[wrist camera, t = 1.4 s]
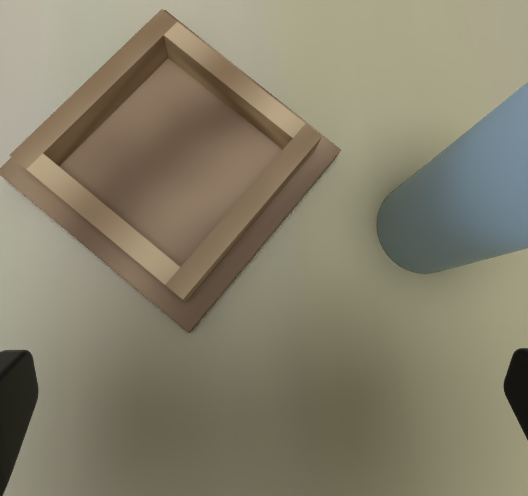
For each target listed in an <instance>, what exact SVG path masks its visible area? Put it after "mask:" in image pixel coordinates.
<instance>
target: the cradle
mask: <svg viewBox="0 0 528 496" xmlns="http://www.w3.org/2000/svg"><path fill="white" fill-rule="evenodd" d="M340 151H341V149H339V148H338V147H337V146H336V145H334V144H333V143H332V142H331V141H329V140H328V139H327V138H326V137H324V136H323V135H322V134H321V133H319V132H318V131H317V130H316V129H314V128H313V127H312V126H311V125H309V124H308V123H307V122H306V121H304V120H303V119H302V118H300V117H299V116H298V115H297V114H295V113H294V112H293V111H292V110H290V109H289V108H288V107H287V106H285V105H284V104H283V103H282V102H280V101H279V100H278V99H277V98H275V97H274V96H273V95H272V94H270V93H269V92H268V91H267V90H265V89H264V88H263V87H261V86H260V85H259V84H258V83H256V82H255V81H254V80H253V79H251V78H250V77H249V76H248V75H246V74H245V73H244V72H243V71H241V70H240V69H239V68H238V67H236V66H235V65H234V64H233V63H231V62H230V61H229V60H228V59H226V58H225V57H224V56H222V55H221V54H220V53H219V52H217V51H216V50H215V49H214V48H212V47H211V46H210V45H209V44H207V43H206V42H205V41H204V40H202V39H201V38H200V37H199V36H197V35H196V34H195V33H194V32H192V31H191V30H190V29H189V28H187V27H186V26H185V25H183V24H182V23H181V22H180V21H178V20H177V19H176V18H175V17H173V16H172V15H171V14H170V13H168V12H167V11H166V10H163V9H161V10H160V11H159V12H158V13H157V14H156V15H155V16H154V17H153V18H152V19H151V20H150V21H149V22H148V23H147V24H146V25H145V26H144V27H143V28H142V29H141V30H139V31H138V32H137V33H136V34H135V35H134V36H133V37H132V38H131V39H130V40H129V41H128V42H127V43H126V44H125V45H124V46H123V47H122V48H121V49H120V50H119V51H118V52H117V53H115V54H114V55H113V56H112V57H111V58H110V59H109V60H108V61H107V62H106V63H105V64H104V65H103V66H102V67H101V68H100V69H99V70H98V71H97V72H96V73H95V74H94V75H93V76H92V77H90V78H89V79H88V80H87V81H86V82H85V83H84V84H83V85H82V86H81V87H80V88H79V89H78V90H77V91H76V92H75V93H74V94H73V95H72V96H71V97H70V98H69V99H68V100H67V101H65V102H64V103H63V104H62V105H61V106H60V107H59V108H58V109H57V110H56V111H55V112H54V113H53V114H52V115H51V116H50V117H49V118H48V119H47V120H46V121H45V122H44V123H43V124H42V125H40V126H39V127H38V128H37V129H36V130H35V131H34V132H33V133H32V134H31V135H30V136H29V137H28V138H27V139H26V140H25V141H24V142H23V143H22V144H21V145H20V146H19V147H18V148H17V149H15V150H14V151H13V152H12V153H11V154H10V156H11V158H10V159H9V160H8V161H7V162H6V163H5V164H4V165H3V166H2V167H1V168H0V175H1V176H2V177H3V178H4V179H6V180H7V181H8V182H9V183H10V184H12V185H13V186H14V187H15V188H16V189H18V190H19V191H20V192H21V193H22V194H24V195H25V196H26V197H27V198H28V199H30V200H31V201H32V202H33V203H34V204H36V205H37V206H38V207H39V208H40V209H42V210H43V211H44V212H45V213H46V214H48V215H49V216H50V217H51V218H52V219H53V220H55V221H56V222H57V223H58V224H59V225H61V226H62V227H63V228H64V229H65V230H67V231H68V232H69V233H70V234H71V235H73V236H74V237H75V238H76V239H77V240H79V241H80V242H81V243H82V244H83V245H85V246H86V247H87V248H88V249H89V250H91V251H92V252H93V253H94V254H95V255H97V256H98V257H99V258H100V259H101V260H102V261H104V262H105V263H106V264H107V265H108V266H110V267H111V268H112V269H113V270H114V271H116V272H117V273H118V274H119V275H120V276H122V277H123V278H124V279H125V280H126V281H128V282H129V283H130V284H131V285H132V286H134V287H135V288H136V289H137V290H138V291H140V292H141V293H142V294H143V295H144V296H146V297H147V298H148V299H149V300H150V301H152V302H153V303H154V304H155V305H156V306H157V307H159V308H160V309H161V310H162V311H163V312H165V313H166V314H167V315H168V316H169V317H171V318H172V319H173V320H174V321H175V322H177V323H178V324H179V325H180V326H181V327H183V328H184V329H185V330H186V331H187V332H191V331H192V330H193V329H194V327H195V326H196V325H197V324H198V323H199V321H200V320H201V319H202V318H203V317H204V315H205V314H206V313H207V312H208V311H209V309H210V308H211V307H212V306H213V305H214V303H215V302H216V301H217V300H218V299H219V297H220V296H221V295H222V294H223V293H224V291H225V290H226V289H227V288H228V287H229V285H230V284H231V283H232V282H233V281H234V279H235V278H236V277H237V276H238V275H239V273H240V272H241V271H242V270H243V269H244V267H245V266H246V265H247V264H248V263H249V261H250V260H251V259H252V258H253V257H254V255H255V254H256V253H257V252H258V251H259V249H260V248H261V247H262V246H263V245H264V243H265V242H266V241H267V240H268V239H269V237H270V236H271V235H272V234H273V233H274V231H275V230H276V229H277V228H278V227H279V225H280V224H281V223H282V222H283V221H284V219H285V218H286V217H287V216H288V215H289V213H290V212H291V211H292V210H293V209H294V207H295V206H296V205H297V204H298V203H299V201H300V200H301V199H302V198H303V197H304V195H305V194H306V193H307V192H308V191H309V189H310V188H311V187H312V186H313V185H314V183H315V182H316V181H317V180H318V179H319V177H320V176H321V175H322V174H323V173H324V171H325V170H326V169H327V168H328V167H329V165H330V164H331V163H332V162H333V161H334V160H335V158H336V157H337V155H338V154H339V152H340Z"/></svg>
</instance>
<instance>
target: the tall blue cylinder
mask: <svg viewBox="0 0 528 496" xmlns="http://www.w3.org/2000/svg"><path fill="white" fill-rule="evenodd" d="M377 232H378V237H379V240H380V243H381V245H382V247H383V249H384V250H385V252H386V253H387V255H388V256H389V257H390V258H391V259H392V260H393V261H394V262H395V263H397V264H398V265H399V266H401V267H403V268H405V269H407V270H409V271H412V272H416V273H423V274H427V273H435V272H439V271H443V270H447V269H450V268H454V267H458V266H462V265H466V264H469V263H473V262H477V261H481V260H484V259H488V258H492V257H496V256H500V255H503V254H507V253H511V252H515V251H519V250H522V249H526V248H528V83H526V84H525V85H524V86H523V87H521V88H520V89H519V90H518V91H516V92H515V93H514V94H513V95H511V96H510V97H509V98H508V99H507V100H505V101H504V102H503V103H502V104H500V105H499V106H498V107H497V108H495V109H494V110H493V111H492V112H490V113H489V114H488V115H487V116H486V117H484V118H483V119H482V120H481V121H479V122H478V123H477V124H476V125H474V126H473V127H472V128H471V129H469V130H468V131H467V132H466V133H465V134H463V135H462V136H461V137H460V138H458V139H457V140H456V141H455V142H453V143H452V144H451V145H450V146H449V147H447V148H446V149H445V150H444V151H442V152H441V153H440V154H439V155H437V156H436V157H435V158H434V159H432V160H431V161H430V162H429V163H428V164H426V165H425V166H424V167H423V168H421V169H420V170H419V171H418V172H416V173H415V174H414V175H413V176H411V177H410V178H409V179H408V180H407V181H405V182H404V183H403V184H402V185H400V186H399V187H398V188H397V189H395V190H394V191H393V192H392V193H391V194H389V195H388V197H387V198H386V199H385V200H384V202H383V203H382V205H381V207H380V210H379V213H378V217H377Z"/></svg>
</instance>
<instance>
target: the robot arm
mask: <svg viewBox="0 0 528 496" xmlns="http://www.w3.org/2000/svg"><path fill="white" fill-rule="evenodd" d="M504 392H505V395H506V397H507V399H508V401H509V404H510V406H511V408H512V410H513V412H514V414H515V416H516V418H517V420H518V422H519V424H520V426H521V428H522V430H523V432H524V434H525V436H526V438H527V440H528V348H520V349H518V350H516V351H515V352H514V353H513V356H512V359H511V362H510V365H509V368H508V371H507V374H506V377H505V380H504ZM37 399H38V383H37V378H36V372H35V367H34V362H33V357H32V355H31V353H30V352H29V351H27V350H4V351H2V352H0V496H3V493H4V491H5V489H6V487H7V484H8V482H9V479H10V476H11V474H12V471H13V468H14V465H15V462H16V460H17V457H18V454H19V451H20V448H21V445H22V442H23V440H24V437H25V434H26V431H27V428H28V425H29V422H30V420H31V417H32V414H33V411H34V408H35V405H36V402H37Z"/></svg>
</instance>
